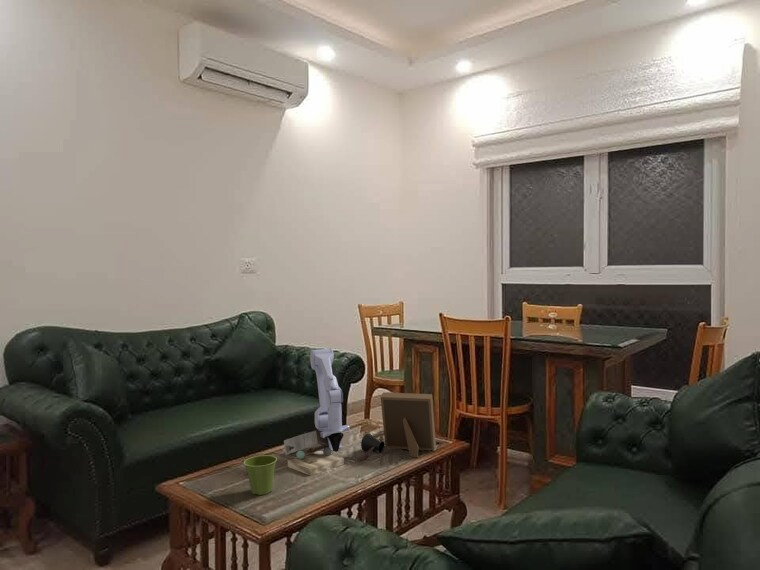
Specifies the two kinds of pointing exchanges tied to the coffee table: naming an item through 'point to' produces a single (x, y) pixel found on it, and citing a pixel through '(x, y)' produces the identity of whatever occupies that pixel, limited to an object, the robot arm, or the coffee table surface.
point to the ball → (327, 451)
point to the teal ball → (300, 454)
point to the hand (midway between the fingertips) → (335, 450)
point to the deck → (315, 463)
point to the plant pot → (261, 473)
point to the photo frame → (408, 421)
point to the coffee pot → (370, 445)
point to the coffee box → (305, 443)
